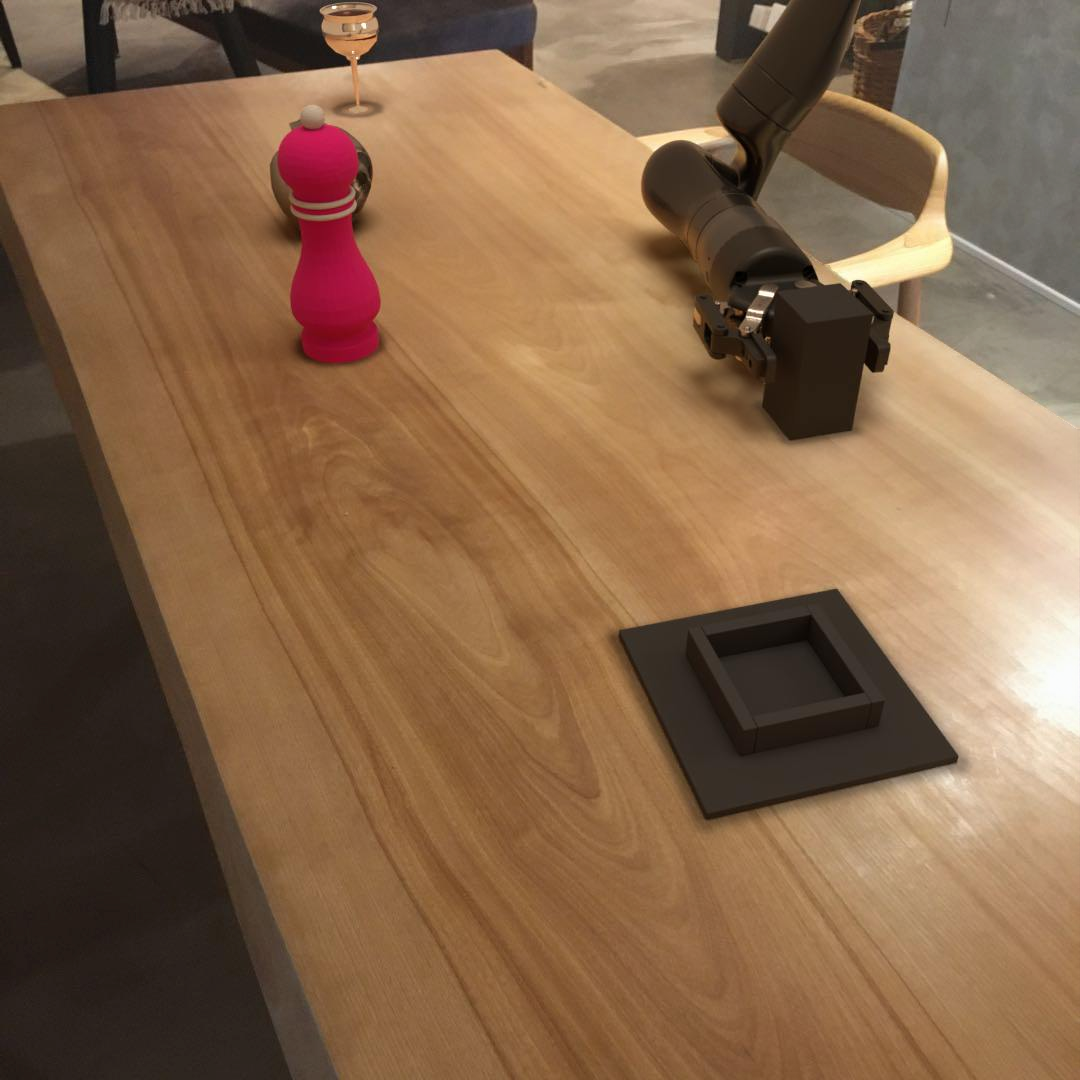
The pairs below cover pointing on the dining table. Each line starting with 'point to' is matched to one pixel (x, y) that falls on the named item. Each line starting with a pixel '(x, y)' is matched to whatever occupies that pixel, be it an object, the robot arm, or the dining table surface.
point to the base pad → (781, 702)
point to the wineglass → (350, 34)
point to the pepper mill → (328, 243)
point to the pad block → (817, 360)
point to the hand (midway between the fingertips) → (826, 366)
